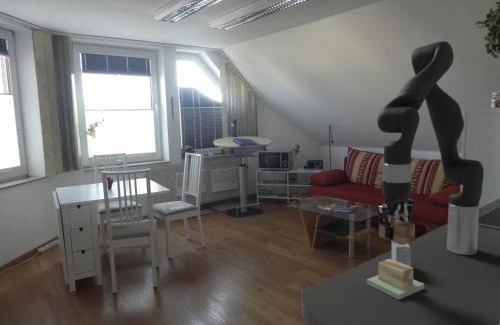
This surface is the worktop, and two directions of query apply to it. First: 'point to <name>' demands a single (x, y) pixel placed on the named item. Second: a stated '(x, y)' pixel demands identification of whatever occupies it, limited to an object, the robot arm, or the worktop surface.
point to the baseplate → (395, 288)
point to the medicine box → (401, 253)
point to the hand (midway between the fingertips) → (395, 237)
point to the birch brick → (395, 273)
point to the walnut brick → (400, 232)
